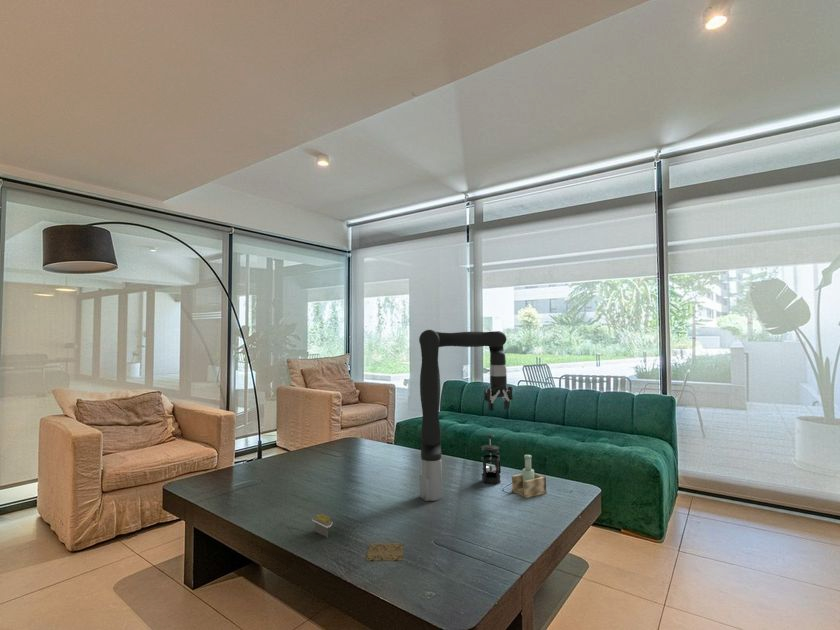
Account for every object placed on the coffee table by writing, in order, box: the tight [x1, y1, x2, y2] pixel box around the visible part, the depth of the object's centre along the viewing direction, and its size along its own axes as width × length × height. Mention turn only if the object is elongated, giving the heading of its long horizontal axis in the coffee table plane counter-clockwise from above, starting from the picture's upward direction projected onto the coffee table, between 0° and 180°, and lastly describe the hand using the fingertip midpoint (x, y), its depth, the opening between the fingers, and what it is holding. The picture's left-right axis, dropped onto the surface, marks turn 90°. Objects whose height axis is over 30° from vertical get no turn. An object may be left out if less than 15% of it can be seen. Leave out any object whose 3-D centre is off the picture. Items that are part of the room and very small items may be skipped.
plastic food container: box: [311, 513, 333, 539], centre depth 156 cm, size 12×18×7 cm, turn 48°
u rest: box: [511, 472, 548, 499], centre depth 195 cm, size 12×10×7 cm
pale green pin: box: [522, 454, 535, 490], centre depth 195 cm, size 5×5×16 cm
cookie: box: [365, 542, 404, 562], centre depth 142 cm, size 12×12×1 cm
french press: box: [480, 433, 502, 486], centre depth 210 cm, size 12×9×23 cm
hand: (499, 410), depth 193 cm, fingers open, 8 cm apart
